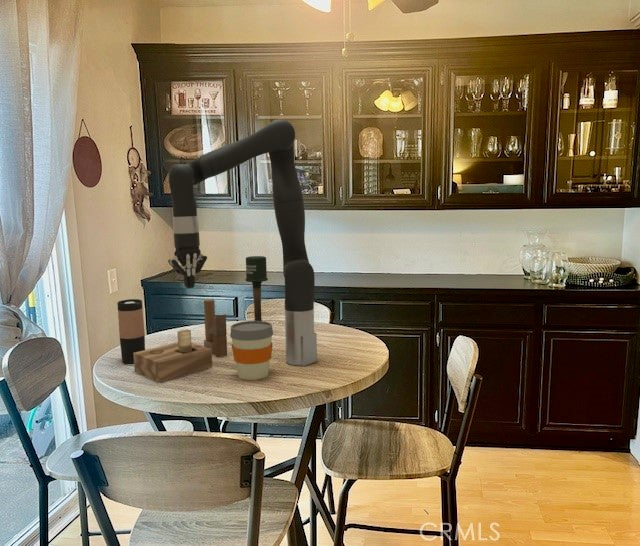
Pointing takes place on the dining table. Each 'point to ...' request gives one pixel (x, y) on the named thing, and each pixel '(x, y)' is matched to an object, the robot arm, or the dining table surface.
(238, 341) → the reusable coffee cup
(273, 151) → the robot arm
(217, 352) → the wooden block
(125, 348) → the travel mug
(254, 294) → the potato masher grenade
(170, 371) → the seat block
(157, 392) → the dining table surface
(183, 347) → the peg
